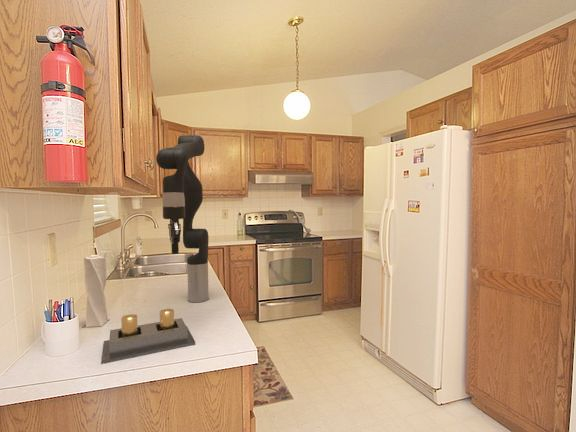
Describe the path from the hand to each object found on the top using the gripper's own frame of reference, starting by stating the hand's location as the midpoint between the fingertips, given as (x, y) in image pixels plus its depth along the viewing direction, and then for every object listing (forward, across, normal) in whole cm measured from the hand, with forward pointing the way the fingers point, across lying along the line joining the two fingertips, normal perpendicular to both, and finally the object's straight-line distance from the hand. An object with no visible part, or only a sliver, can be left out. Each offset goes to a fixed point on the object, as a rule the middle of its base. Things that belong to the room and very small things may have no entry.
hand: (175, 253), depth 115 cm
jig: (+27, +10, -10) cm, 30 cm away
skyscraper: (+28, -18, -26) cm, 42 cm away
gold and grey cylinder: (+26, +10, -4) cm, 28 cm away
